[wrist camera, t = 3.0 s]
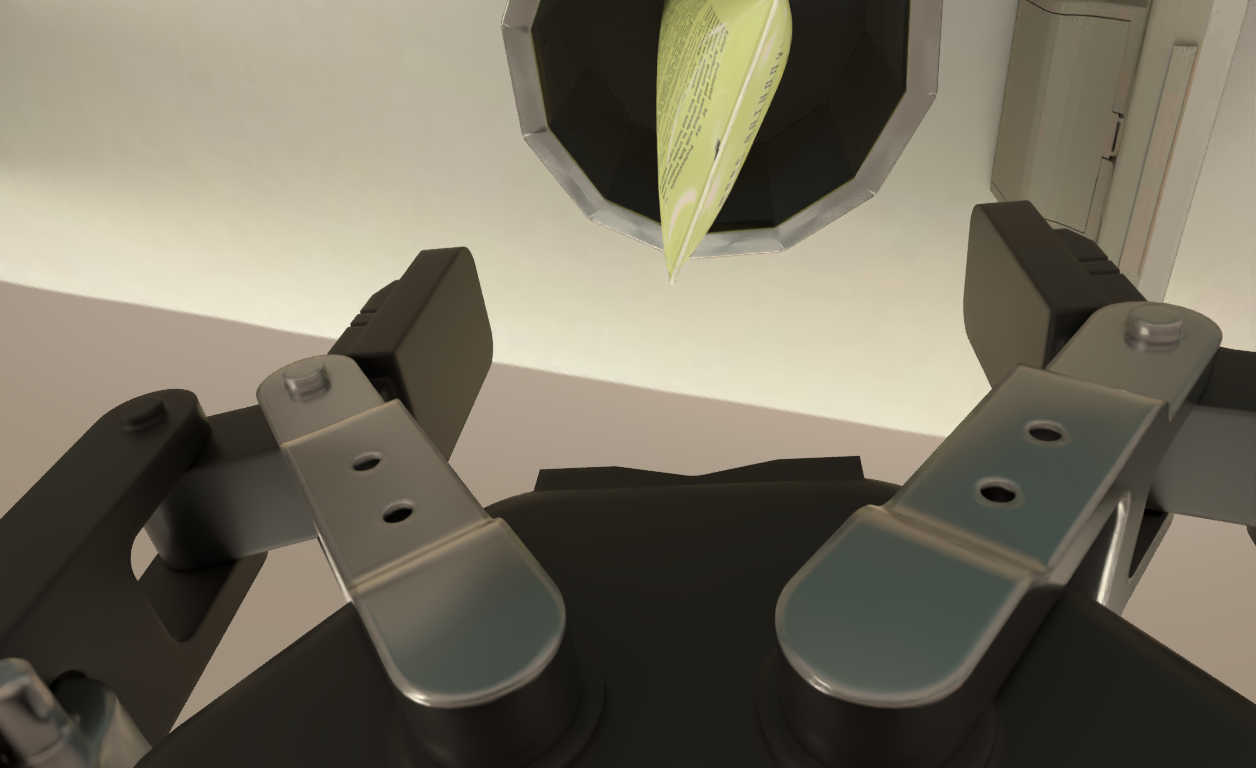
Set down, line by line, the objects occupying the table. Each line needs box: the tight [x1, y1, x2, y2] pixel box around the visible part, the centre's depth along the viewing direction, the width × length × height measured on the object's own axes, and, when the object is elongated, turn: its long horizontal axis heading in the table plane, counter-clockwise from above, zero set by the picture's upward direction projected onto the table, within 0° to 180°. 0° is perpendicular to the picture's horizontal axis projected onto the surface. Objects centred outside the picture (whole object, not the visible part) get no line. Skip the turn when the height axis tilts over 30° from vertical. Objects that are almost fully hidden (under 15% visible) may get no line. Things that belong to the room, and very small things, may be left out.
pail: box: [501, 0, 943, 259], centre depth 32 cm, size 14×14×10 cm
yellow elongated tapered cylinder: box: [657, 0, 792, 285], centre depth 28 cm, size 6×5×20 cm
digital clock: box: [990, 0, 1249, 303], centre depth 32 cm, size 16×9×11 cm, turn 173°
